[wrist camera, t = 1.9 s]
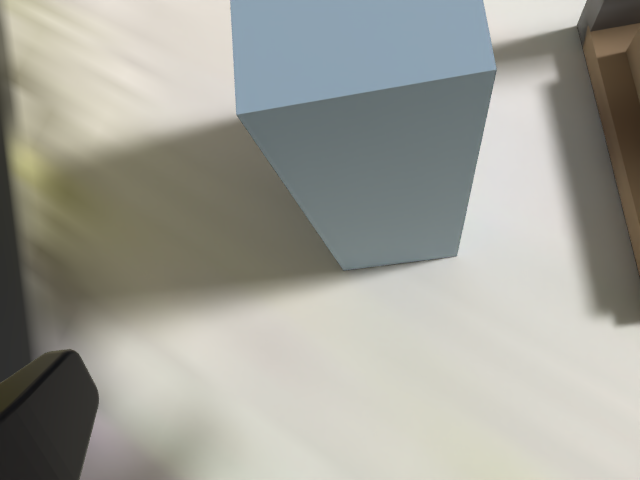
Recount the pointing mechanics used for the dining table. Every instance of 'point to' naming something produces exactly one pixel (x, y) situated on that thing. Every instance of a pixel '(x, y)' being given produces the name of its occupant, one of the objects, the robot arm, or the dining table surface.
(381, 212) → the blue angular block
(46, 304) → the dining table surface
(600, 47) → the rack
